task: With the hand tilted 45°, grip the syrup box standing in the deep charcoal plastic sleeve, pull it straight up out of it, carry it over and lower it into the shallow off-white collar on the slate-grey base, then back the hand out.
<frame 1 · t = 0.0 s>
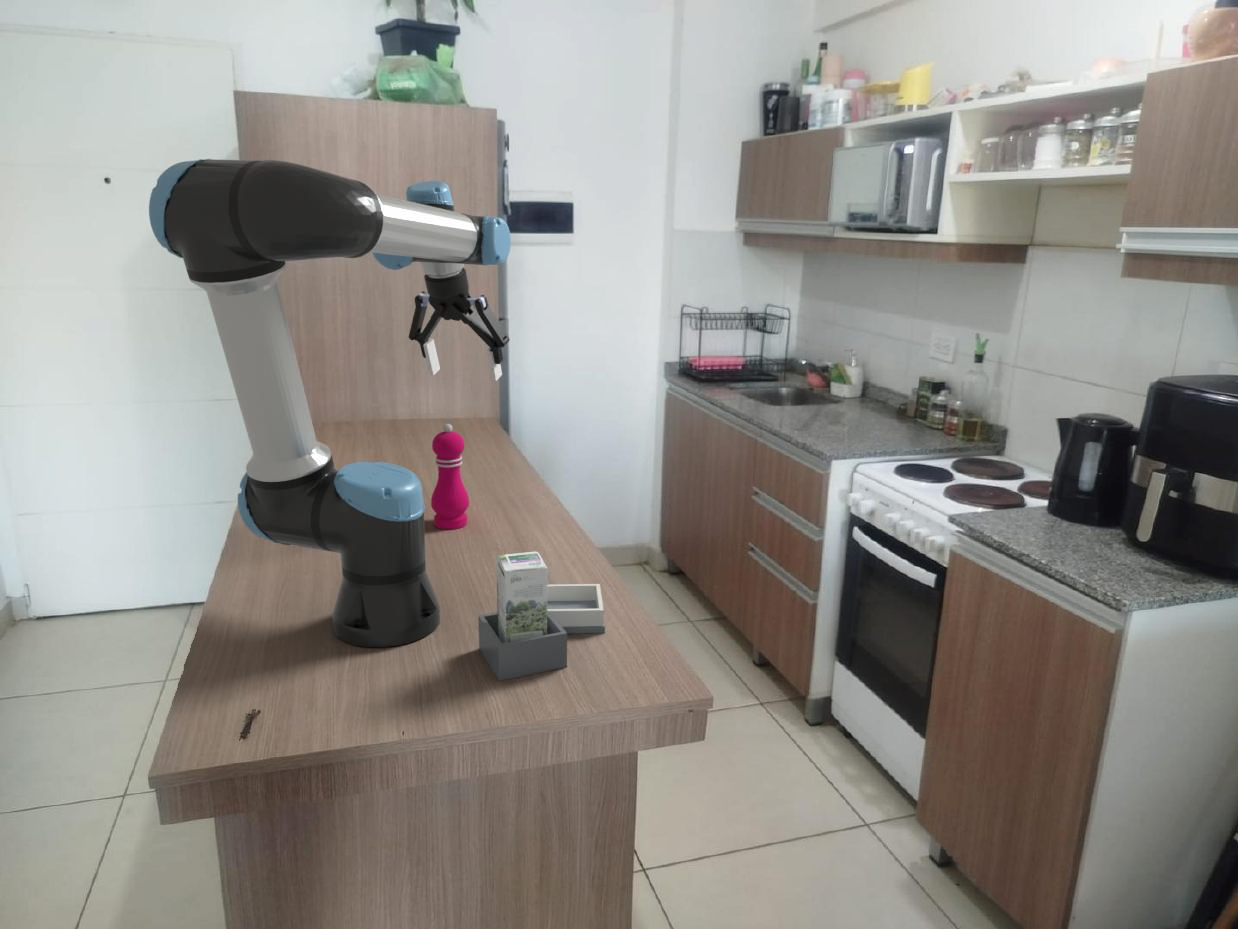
hand: (466, 375, 167), 28 cm above the table, tool tilted 20°, fingers open, 13 cm apart
low collar: (570, 618, 129), on the table
pepper mill: (450, 525, 167), on the table
deep sleeve: (522, 657, 118), on the table
syrup box: (522, 658, 118), resting in deep sleeve
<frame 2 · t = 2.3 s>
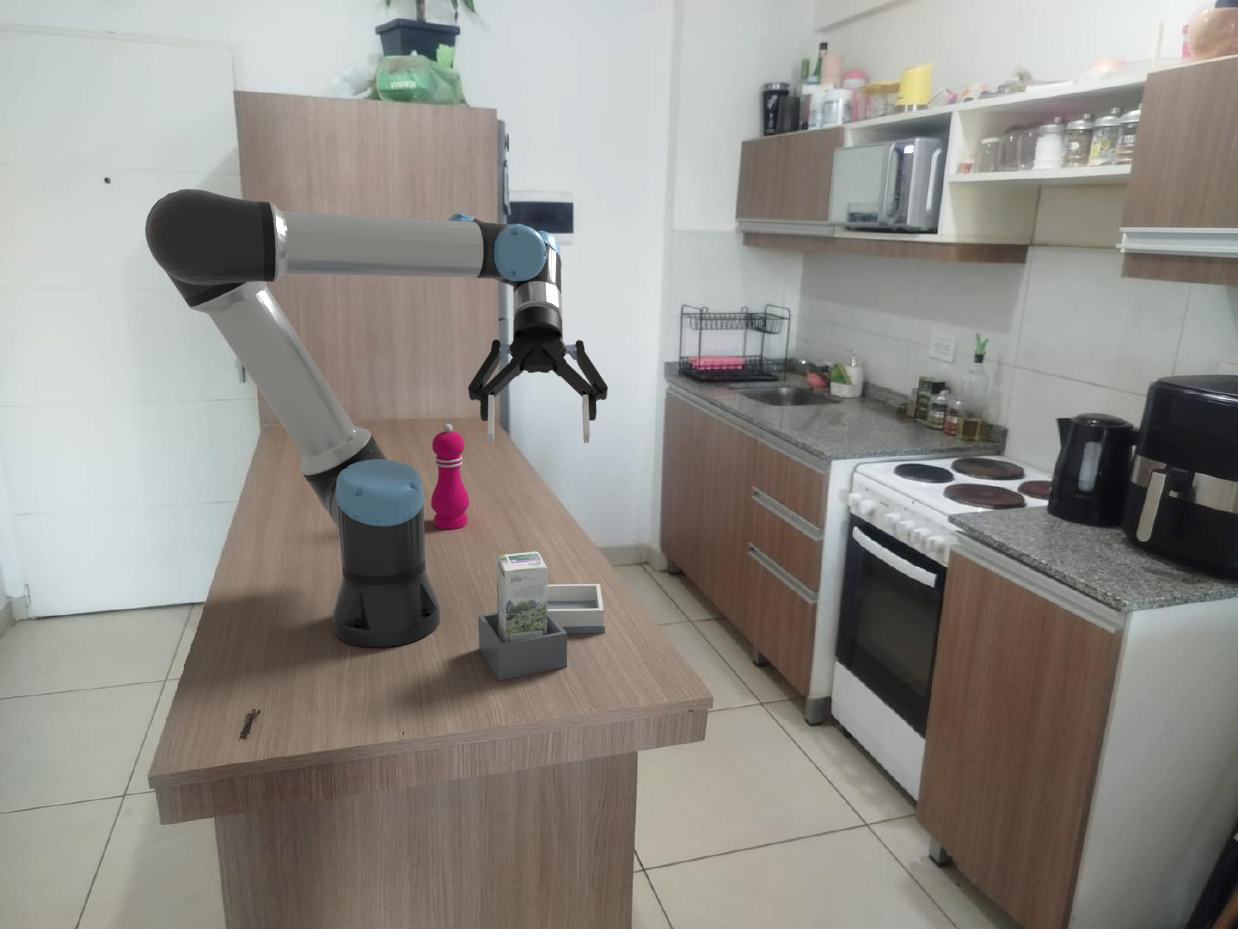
hand: (539, 438, 123), 28 cm above the table, tool tilted 45°, fingers open, 13 cm apart
nothing on the table moved.
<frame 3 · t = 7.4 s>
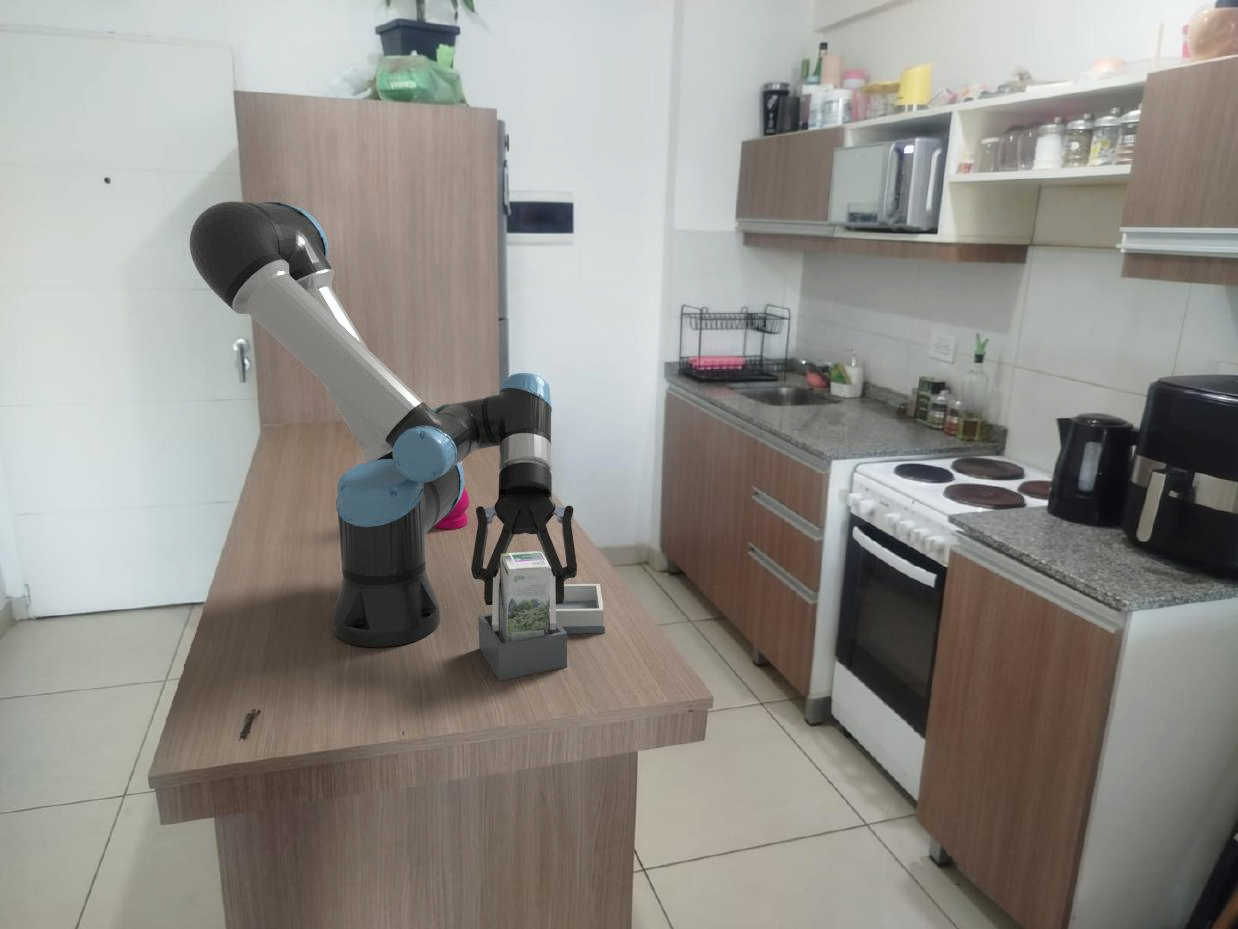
hand: (524, 627, 113), 6 cm above the table, tool tilted 45°, fingers closed on syrup box, 7 cm apart
syrup box: (522, 658, 118), resting in deep sleeve, touching gripper
everything else where it was.
when the fingers open (8 cm above the table, at t = 14.6 s): syrup box drops 1 cm, resting on low collar.
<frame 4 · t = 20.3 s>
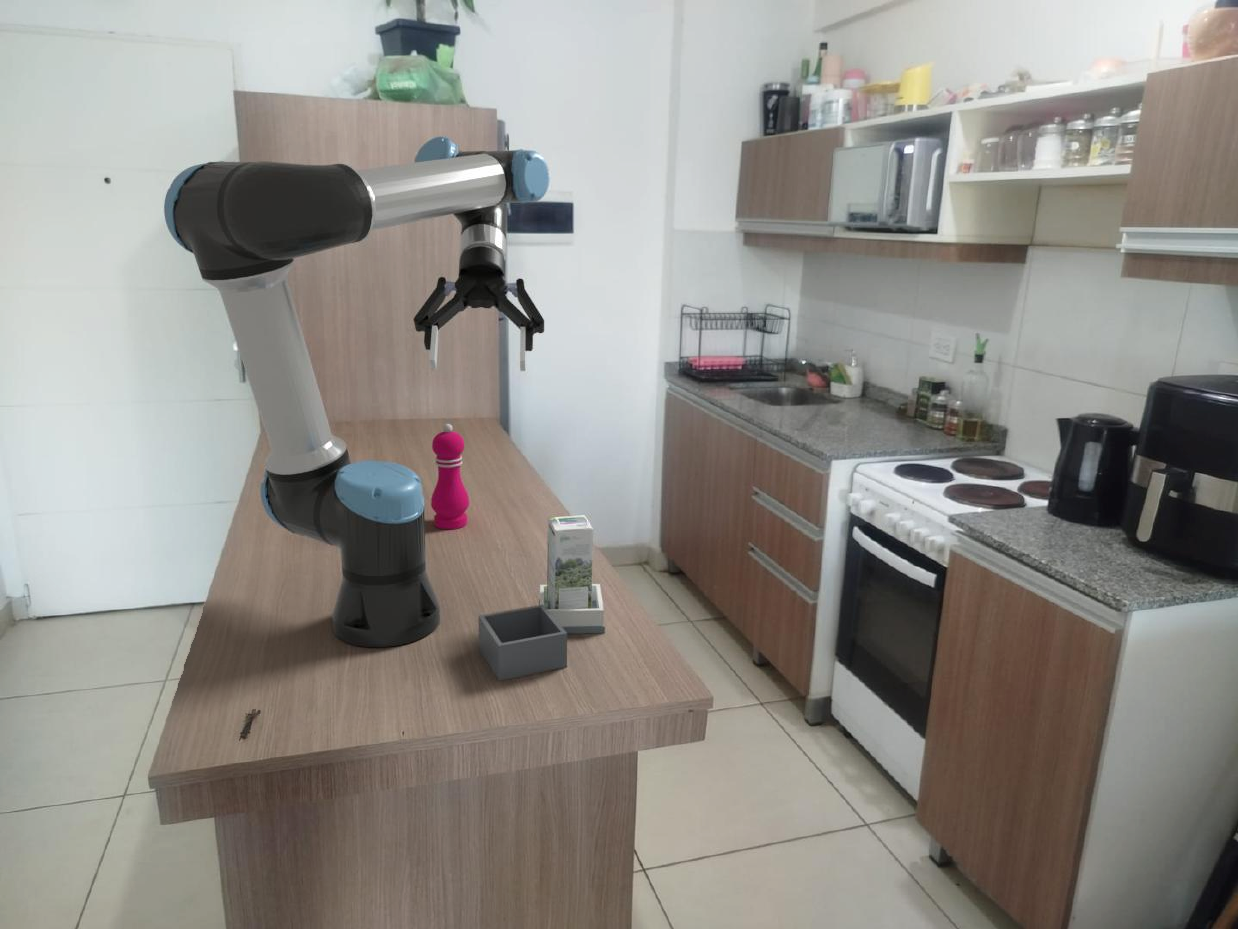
hand: (478, 365, 132), 36 cm above the table, tool tilted 45°, fingers open, 13 cm apart
syrup box: (569, 613, 129), point 1 cm above the table, touching low collar
everything else where it was.
at the end: syrup box 0.3 cm off-centre on the low collar, point 0.8 cm above the low collar's base; syrup box tilted 0°; the gripper is holding nothing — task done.
